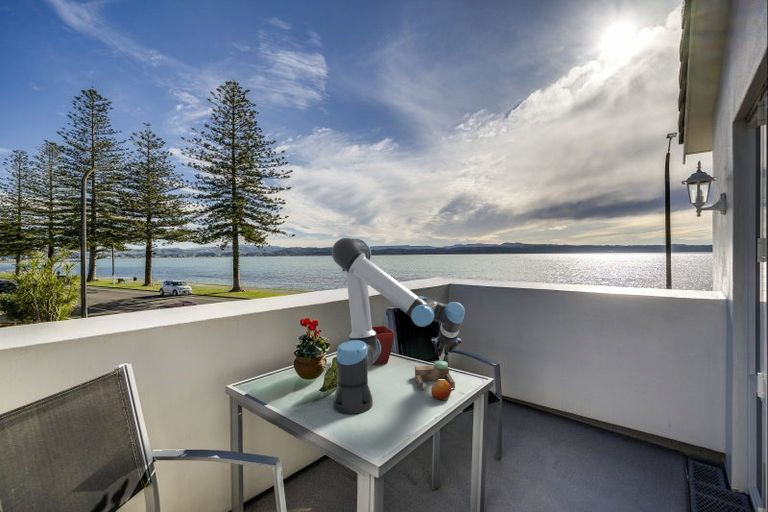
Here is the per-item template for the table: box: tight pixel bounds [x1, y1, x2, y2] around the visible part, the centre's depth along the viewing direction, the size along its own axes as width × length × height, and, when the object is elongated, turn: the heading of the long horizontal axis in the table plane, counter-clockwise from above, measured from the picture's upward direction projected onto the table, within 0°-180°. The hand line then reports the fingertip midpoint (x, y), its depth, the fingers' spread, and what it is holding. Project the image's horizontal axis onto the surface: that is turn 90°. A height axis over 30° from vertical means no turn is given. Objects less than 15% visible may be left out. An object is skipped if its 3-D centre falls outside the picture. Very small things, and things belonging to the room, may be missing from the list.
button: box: [434, 360, 449, 369], centre depth 153 cm, size 6×6×7 cm
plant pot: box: [371, 325, 395, 366], centre depth 179 cm, size 19×19×17 cm
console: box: [414, 365, 450, 381], centre depth 153 cm, size 15×5×5 cm, turn 92°
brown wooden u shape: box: [415, 372, 456, 391], centre depth 145 cm, size 15×10×3 cm
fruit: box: [430, 380, 452, 401], centre depth 132 cm, size 8×8×8 cm
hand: (440, 358), depth 153 cm, fingers closed
